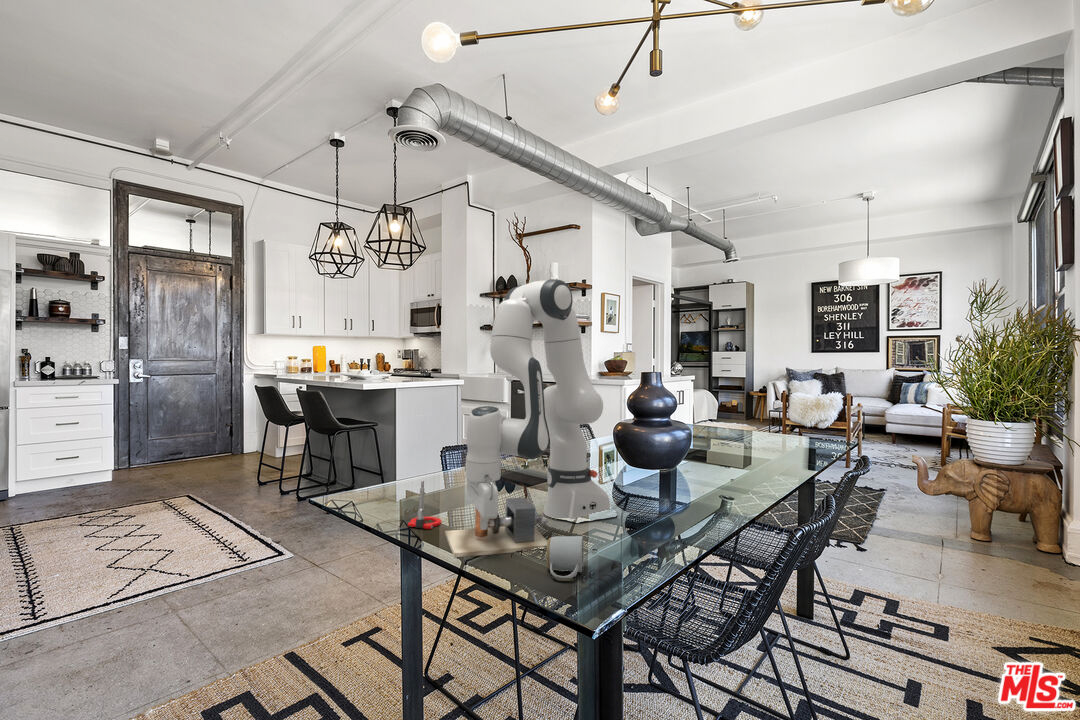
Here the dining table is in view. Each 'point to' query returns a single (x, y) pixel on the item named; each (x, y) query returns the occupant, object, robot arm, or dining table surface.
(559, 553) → the ceramic mug
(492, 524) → the flanged metal rod
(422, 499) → the tow hook
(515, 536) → the eye bracket
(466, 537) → the base board
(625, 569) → the dining table surface
